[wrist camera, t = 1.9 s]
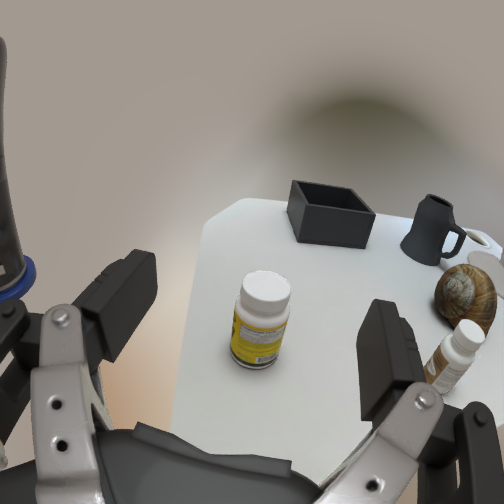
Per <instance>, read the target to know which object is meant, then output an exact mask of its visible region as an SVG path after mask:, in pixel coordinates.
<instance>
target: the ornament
mask: <svg viewBox="0 0 504 504" xmlns="http://www.w3.org/2000/svg"><path fill="white" fill-rule="evenodd" d="M467 259H468V263H469V265H473V266H476V267H478V268H480V269H482V270H483V271H485V272H486V273H487V274H488V276H489V277H490V278H491V280H492V281H493V283H494V286H495V289H496V294H497V295H498V296H500V297H501V298H503V299H504V248H503V252H502V255H501V260H500V261H499V259H498V258H497V257H496V256H494V255H492V254H489V253H486V252H482V251H473V252H471V253H470V254H469V255H468V258H467Z"/></svg>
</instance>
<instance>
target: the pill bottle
mask: <svg viewBox="0 0 504 504" xmlns="http://www.w3.org/2000/svg"><path fill="white" fill-rule="evenodd" d="M484 340H485V335H484V332H483V330H482V329H481V328H480V326H479V325H477V324H476V323H475V322H473V321H471V320H468V319H463V320H461V321H460V322H459V324H458V325H457V327H456V328H455V330H454V331H453V334H449V335H447V336H446V337H445V338H444V339H443V340H442V342H441V343H440V345H439V346H438V348H437V349H436V351H435V352H434V353H433V355H432V356H431V358H430V359H429V360H428V362H427V363H426V365H425V366H424V367H423V369H424V373H425V377H426V381H427V384H430V385H432V386H433V387H434V388H436V389H437V390H438V391H439V393H440V394H445V393H447V392H448V391H449V390H450V389H451V388H452V387H453V386H454V385H455V384H456V383H457V381H458V380H459V379H460V378H461V377H462V376H463V374H464V373H465V372H466V371H467V369H468V368H469V367H470V366H471V364H472V363H473V362H474V360H475V355H476V353H475V352H476V351H477V350H478V349H479V348H480V346H481V345H482V343H483V342H484Z"/></svg>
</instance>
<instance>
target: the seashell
mask: <svg viewBox="0 0 504 504" xmlns="http://www.w3.org/2000/svg"><path fill="white" fill-rule="evenodd" d="M434 298H435V304H436V307H437V309H438V311H439V312H440V313H441V314H442V315H443V316H444V317H446V318H447V319H448V320H449V322H450V323H451V324H452V325H453V327H454V328H456V327H457V325H458V324H459V322H460V321H461V320H463V319H468V320H471V321H473V322H475V323H476V324H477V325H479V326H480V328H481V329H482V330H483V332H484V335H485V338H486V336H487V334H488V331H489V329H490V327H491V325H492V323H493V321H494V318H495V314H496V309H497V294H496V289H495V286H494V283H493V281H492V280H491V278H490V277H489V276H488V274H487V273H486V272H485V271H483V270H482V269H480V268H478V267H476V266H473V265H469V264H460V265H456V266H454V267H452V268H450V269H448V270H447V271H446V272H445V273H444V274H443V275H442V277H441V278H440V280H439V281H438V283H437V286H436V289H435V294H434Z"/></svg>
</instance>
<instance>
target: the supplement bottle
mask: <svg viewBox="0 0 504 504" xmlns="http://www.w3.org/2000/svg"><path fill="white" fill-rule="evenodd" d="M290 294H291V286H290V284H289V282H288V281H287V280H286V279H285V278H284V277H283V276H281V275H279V274H277V273H274V272H271V271H264V270H260V271H254V272H251V273H249V274H247V275H246V276H245V277H244V279H243V281H242V286H241V290H240V295H239V296H238V298H237V300H236V303H235V309H234V318H233V327H232V335H231V344H230V351H231V354H232V356H233V358H234V359H235V360H236V361H237V362H238V363H239V364H241V365H242V366H245V367H248V368H253V369H261V368H265V367H268V366H269V365H271V364H272V363H273V362H274V361H275V360H276V358H277V356H278V353H279V349H280V346H281V342H282V339H283V335H284V332H285V328H286V325H287V321H288V318H289V314H290V306H289V303H288V302H289V298H290Z"/></svg>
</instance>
